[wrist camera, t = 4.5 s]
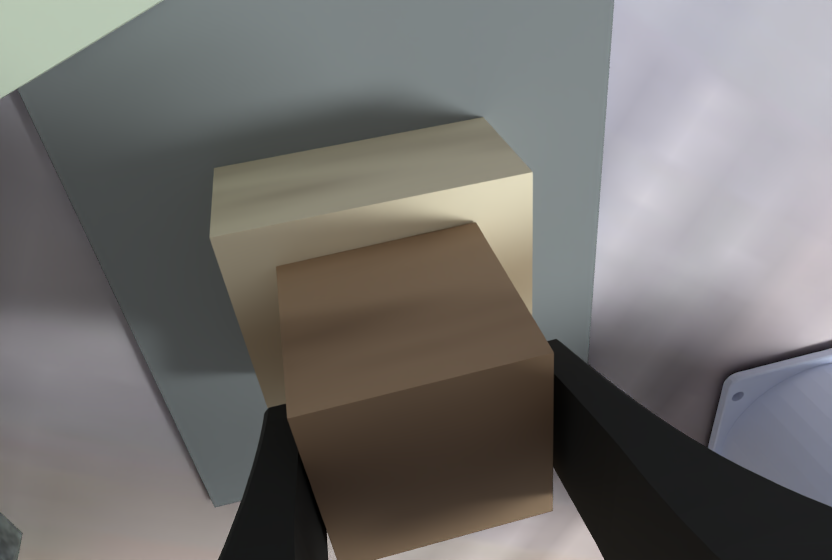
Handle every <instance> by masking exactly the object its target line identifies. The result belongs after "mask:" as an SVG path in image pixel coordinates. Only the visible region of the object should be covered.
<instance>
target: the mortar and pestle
mask: <svg viewBox="0 0 832 560" xmlns="http://www.w3.org/2000/svg"><path fill="white" fill-rule="evenodd" d="M21 538H22V533H21V532H20V531H19V530H18V529H17V528H16V527H15V526H14V525H13V524H12V523H11V522H10V521H9V520H8V519H7V518H6V517H5V516H4V515H3V514H1V513H0V560H18V554H19V549H20V544H21Z"/></svg>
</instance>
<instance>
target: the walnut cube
mask: <svg viewBox="0 0 832 560" xmlns="http://www.w3.org/2000/svg"><path fill="white" fill-rule="evenodd" d="M276 274H277V287H278V301H279V315H280V328H281V342H282V355H283V369H284V383H285V396H286V410H287V420H288V422H289V425H290V428H291V431H292V434H293V437H294V439H295V442H296V445H297V448H298V451H299V454H300V456H301V459H302V462H303V465H304V468H305V470H306V473H307V476H308V479H309V482H310V485H311V487H312V490H313V493H314V496H315V499H316V501H317V504H318V507H319V510H320V513H321V516H322V518H323V521H324V524H325V527H326V530H327V532H328V535H329V538H330V541H331V544H332V547H333V549H334V552H335V555H336V558H337V560H376V559H380V558H383V557H387V556H391V555H394V554H398V553H402V552H405V551H409V550H413V549H416V548H420V547H423V546H427V545H431V544H434V543H438V542H442V541H445V540H449V539H452V538H456V537H460V536H463V535H467V534H471V533H474V532H478V531H481V530H485V529H489V528H492V527H496V526H500V525H503V524H507V523H511V522H514V521H518V520H521V519H525V518H529V517H532V516H536V515H540V514H543V513H547V512H550V511H553V402H554V352H553V350H552V348H551V347H550V345H549V343H548V342H547V340H546V338H545V337H544V335H543V333H542V332H541V330H540V328H539V327H538V325H537V323H536V322H535V320H534V318H533V317H532V315H531V313H530V312H529V310H528V308H527V307H526V305H525V303H524V302H523V300H522V298H521V297H520V295H519V293H518V292H517V290H516V288H515V287H514V285H513V283H512V282H511V280H510V278H509V277H508V275H507V273H506V272H505V270H504V268H503V267H502V265H501V263H500V262H499V260H498V258H497V257H496V255H495V253H494V252H493V250H492V248H491V247H490V245H489V243H488V242H487V240H486V238H485V237H484V235H483V233H482V231H481V230H480V228H479V226H478V225H477V223H476V222H474V223H469V224H465V225H460V226H456V227H451V228H447V229H442V230H438V231H433V232H429V233H424V234H420V235H415V236H411V237H406V238H402V239H397V240H393V241H388V242H384V243H379V244H375V245H370V246H366V247H361V248H357V249H352V250H348V251H343V252H339V253H334V254H330V255H325V256H321V257H316V258H312V259H307V260H303V261H298V262H294V263H289V264H285V265H280V266H276Z"/></svg>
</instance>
